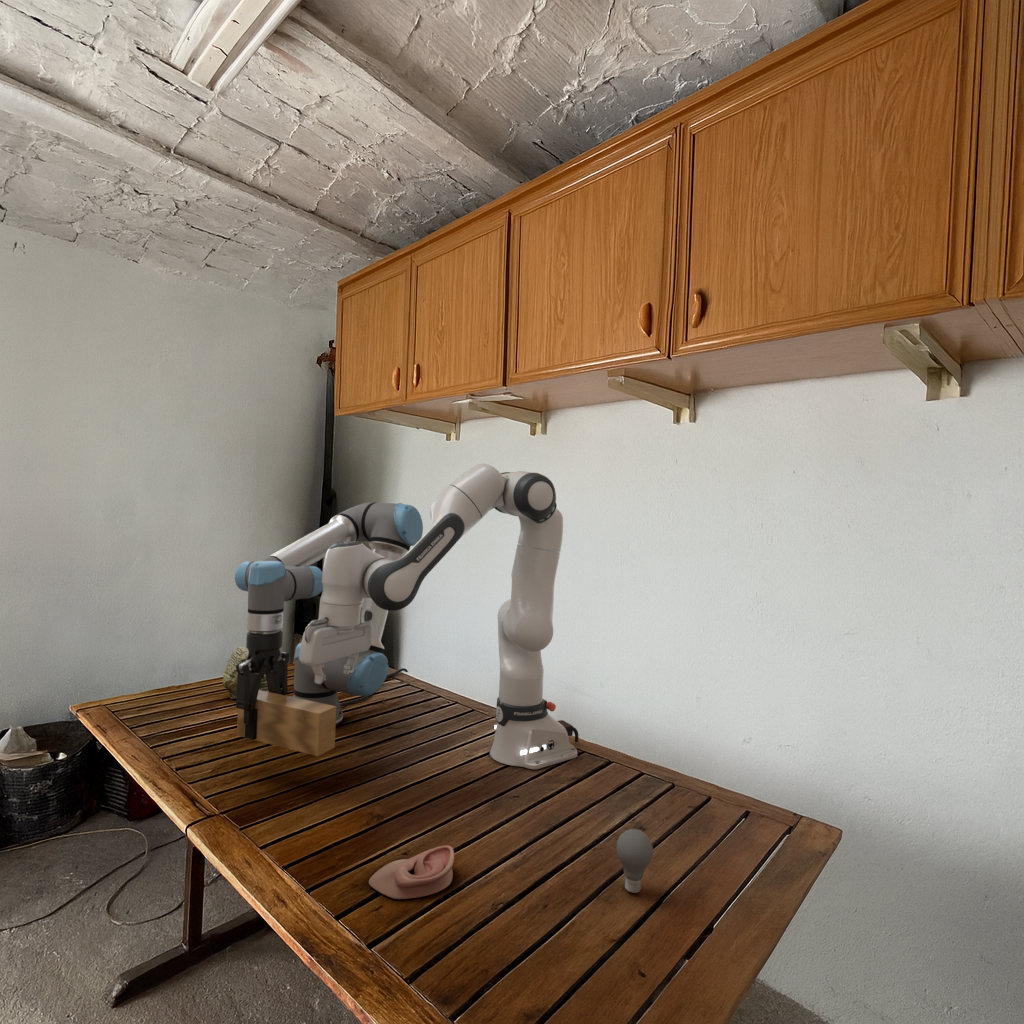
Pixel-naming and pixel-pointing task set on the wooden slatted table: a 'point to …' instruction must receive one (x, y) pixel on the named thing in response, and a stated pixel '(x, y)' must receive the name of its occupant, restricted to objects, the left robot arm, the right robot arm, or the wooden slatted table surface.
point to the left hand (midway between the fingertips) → (261, 733)
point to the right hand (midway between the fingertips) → (334, 678)
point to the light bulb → (634, 857)
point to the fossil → (232, 675)
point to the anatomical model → (416, 874)
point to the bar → (293, 723)
